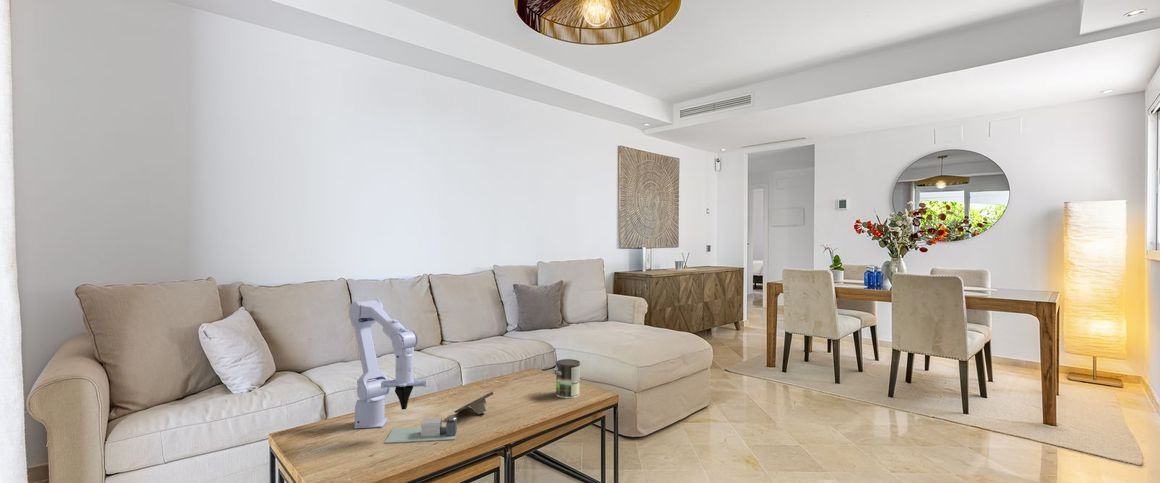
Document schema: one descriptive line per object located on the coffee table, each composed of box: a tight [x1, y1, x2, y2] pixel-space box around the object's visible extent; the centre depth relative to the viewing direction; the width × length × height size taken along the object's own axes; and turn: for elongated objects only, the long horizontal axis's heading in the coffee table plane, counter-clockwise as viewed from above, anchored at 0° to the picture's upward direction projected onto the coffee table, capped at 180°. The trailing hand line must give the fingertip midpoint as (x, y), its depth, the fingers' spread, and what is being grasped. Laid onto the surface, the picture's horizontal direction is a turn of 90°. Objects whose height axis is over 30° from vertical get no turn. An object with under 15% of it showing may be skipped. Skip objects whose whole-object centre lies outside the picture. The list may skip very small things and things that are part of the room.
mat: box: [384, 424, 459, 445], centre depth 163 cm, size 22×12×1 cm, turn 99°
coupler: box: [440, 415, 458, 436], centre depth 163 cm, size 10×5×5 cm, turn 99°
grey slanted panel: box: [447, 390, 494, 416], centre depth 183 cm, size 16×9×15 cm
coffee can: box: [555, 358, 581, 399], centre depth 207 cm, size 10×10×14 cm
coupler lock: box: [420, 417, 443, 437], centre depth 162 cm, size 6×5×4 cm
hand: (404, 408), depth 161 cm, fingers closed
